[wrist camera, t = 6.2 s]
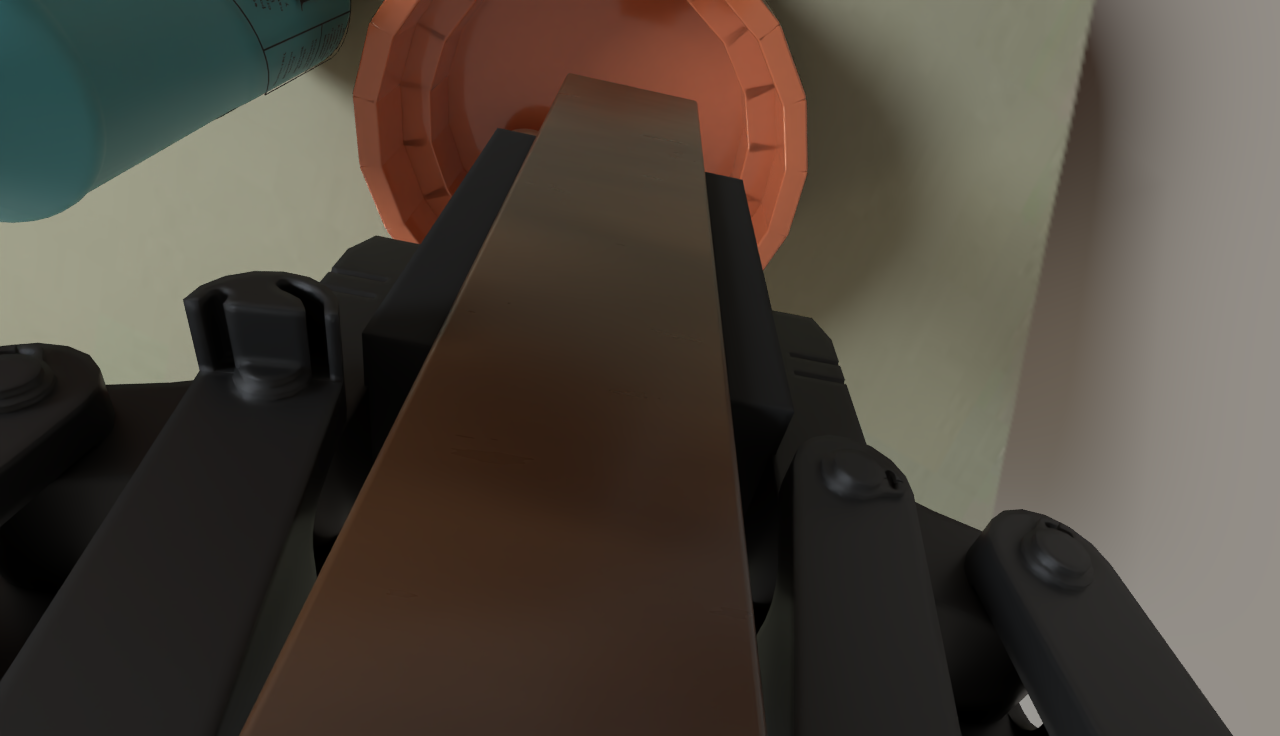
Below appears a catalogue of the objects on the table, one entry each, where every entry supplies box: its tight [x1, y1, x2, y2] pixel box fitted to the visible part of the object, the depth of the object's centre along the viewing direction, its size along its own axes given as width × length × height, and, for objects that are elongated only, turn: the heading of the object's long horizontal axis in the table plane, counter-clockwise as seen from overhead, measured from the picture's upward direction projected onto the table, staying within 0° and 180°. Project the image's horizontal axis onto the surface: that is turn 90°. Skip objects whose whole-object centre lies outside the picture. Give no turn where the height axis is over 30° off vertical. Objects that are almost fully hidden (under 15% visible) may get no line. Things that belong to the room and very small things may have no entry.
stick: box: [239, 73, 768, 736], centre depth 10 cm, size 3×3×16 cm
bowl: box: [353, 0, 808, 270], centre depth 26 cm, size 16×16×6 cm
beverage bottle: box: [0, 0, 351, 223], centre depth 18 cm, size 6×7×20 cm
